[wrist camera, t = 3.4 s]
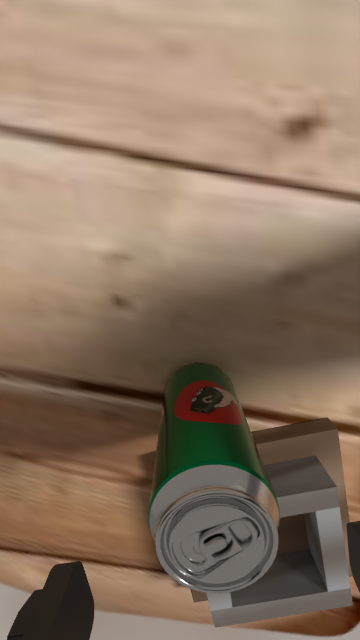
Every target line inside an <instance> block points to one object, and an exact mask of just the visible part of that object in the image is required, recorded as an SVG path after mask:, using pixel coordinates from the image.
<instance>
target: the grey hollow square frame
mask: <svg viewBox="0 0 360 640" xmlns="http://www.w3.org/2000/svg"><path fill="white" fill-rule="evenodd" d="M251 434H252V436H253V439H254V441H255V444H256V446H257V449H258V451H259V454H260V456H261V459H262V461H263V464H264V467H265V469H266V472H267V474H268V477H269V479H270V482H271V484H272V487H273V489H274V492H275V495H276V497H277V500H278V504H279V509H280V522H279V527H278V538H279V543H278V551H277V555H276V558H275V560H274V562H273V564H272V565H271V567H270V568H269V570H268V571H267V572H266V573H265V574H264V575H263V576H262V577H261V578H260V579H259V580H257V581H256V582H255V583H253V584H251V585H249V586H247V587H245V588H243V589H240V590H237V591H233V592H228V593H204V592H199V591H195V590H192V589H191V593H192V597H193V601H194V602H200V601H206V600H208V602H209V606H210V609H211V613H212V617H213V621H214V625H215V627H221V626H227V625H233V624H240V623H246V622H252V621H258V620H264V619H271V618H277V617H283V616H289V615H295V614H301V613H308V612H314V611H320V610H326V609H332V608H339V607H345V606H351V605H353V604H352V596H351V589H350V581H349V577H350V576H353V575H352V571H351V568H350V562H349V551H348V539H347V527H346V526H347V523H349V515H348V507H347V499H346V491H345V483H344V475H343V468H342V460H341V452H340V444H339V436H338V429H337V428H336V427H335V426H334V424H333V423H332V422H331V421H330V420H329V419H328V418H323V419H318V420H313V421H308V422H303V423H298V424H292V425H287V426H282V427H277V428H272V429H267V430H262V431H256V432H251Z"/></svg>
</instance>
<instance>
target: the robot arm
mask: <svg viewBox="0 0 360 640" xmlns="http://www.w3.org/2000/svg"><path fill="white" fill-rule="evenodd" d="M346 527H347V539H348V551H349V562H350V568H351V571H352V575H353V578H354V580H355V583H356V585H357V587H358V590H359V592H360V521H356V522H349V523H347V526H346ZM93 620H94V600H93V596H92V593H91V590H90V586H89V583H88V580H87V577H86V574H85V571H84V567H83V565H82V563H81V562H80V561H77V562H70V563H63V564H57V565H55V566H53V568H52V569H51V571H50V573H49V575H48V578H47V580H46V583H45V585H44V587H43V589H41V590H35V591H34V592H33V593H32V595H31V596H30V597H29V599H28V600H27V601H26V603H25V604H24V605H23V607H22V608H21V610H20V611H19V612H18V615H17V617H16V619H15V621H14V623H13V625H12V627H11V630H10V632H9V634H8V636H7V640H89V638H90V634H91V630H92V625H93Z"/></svg>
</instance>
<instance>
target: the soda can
mask: <svg viewBox="0 0 360 640" xmlns="http://www.w3.org/2000/svg"><path fill="white" fill-rule="evenodd" d="M279 522H280V509H279V504H278V500H277V497H276V495H275V492H274V489H273V487H272V484H271V482H270V479H269V477H268V474H267V472H266V469H265V467H264V464H263V461H262V459H261V456H260V454H259V451H258V449H257V446H256V444H255V441H254V439H253V436H252V434H251V431H250V428H249V426H248V423H247V421H246V418H245V416H244V413H243V411H242V408H241V406H240V403H239V400H238V398H237V395H236V393H235V390H234V388H233V385H232V383H231V381H230V379H229V378H228V377H227V375H226V374H225V373H224V372H223V371H221V370H220V369H218V368H217V367H214V366H212V365H209V364H203V363H195V364H190V365H187V366H184V367H182V368H180V369H179V370H177V371H176V372H175V373H174V374H173V375H172V376H171V377H170V378H169V380H168V382H167V384H166V386H165V389H164V396H163V404H162V411H161V419H160V426H159V434H158V441H157V449H156V456H155V464H154V471H153V479H152V486H151V494H150V501H149V509H148V525H149V529H150V533H151V535H152V537H153V540H154V541H155V547H156V552H157V556H158V559H159V561H160V564H161V565H162V567H163V568H164V570H165V571H166V572H167V573H168V574H169V576H170V577H171V578H173V579H174V580H175V581H177V582H178V583H180V584H181V585H183V586H185V587H187V588H190V589H192V590H195V591H199V592H204V593H228V592H233V591H237V590H240V589H243V588H245V587H247V586H249V585H251V584H253V583H255V582H256V581H257V580H259V579H260V578H261V577H262V576H263V575H264V574H265V573H266V572H267V571H268V570H269V568H270V567H271V565H272V564H273V562H274V560H275V558H276V555H277V551H278V543H279V538H278V527H279Z"/></svg>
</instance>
